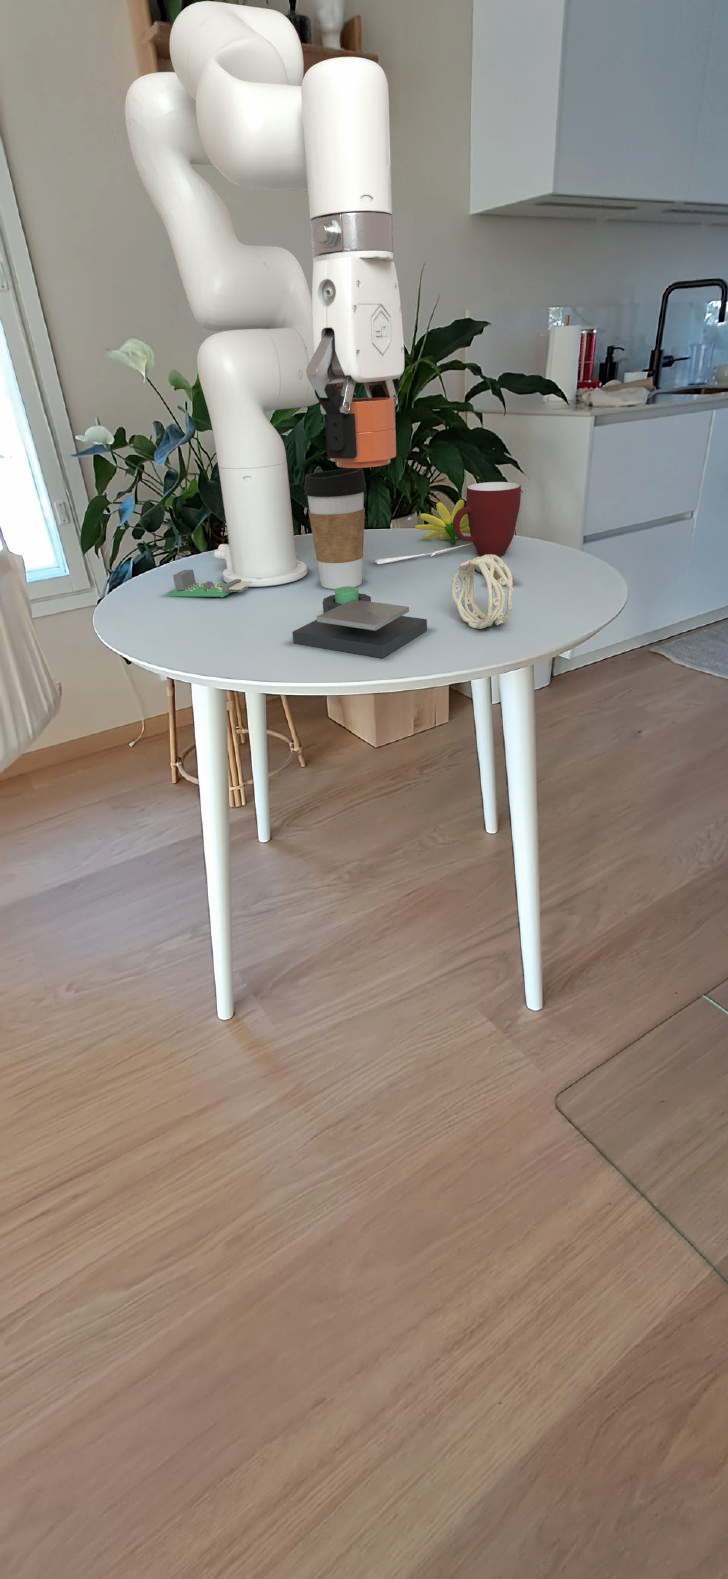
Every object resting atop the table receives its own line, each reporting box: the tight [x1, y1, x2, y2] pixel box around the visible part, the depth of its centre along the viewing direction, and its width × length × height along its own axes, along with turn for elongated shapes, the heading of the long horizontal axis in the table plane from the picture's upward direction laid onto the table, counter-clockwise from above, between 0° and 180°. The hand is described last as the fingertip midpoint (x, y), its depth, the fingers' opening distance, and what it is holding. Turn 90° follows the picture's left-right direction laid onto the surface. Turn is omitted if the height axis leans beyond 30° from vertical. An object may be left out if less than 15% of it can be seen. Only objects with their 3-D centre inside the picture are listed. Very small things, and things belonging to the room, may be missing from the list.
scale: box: [292, 592, 428, 659], centre depth 88 cm, size 13×11×3 cm
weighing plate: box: [316, 599, 410, 631], centre depth 84 cm, size 8×7×1 cm
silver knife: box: [374, 542, 474, 565], centre depth 119 cm, size 4×1×19 cm
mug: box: [453, 481, 522, 558], centre depth 116 cm, size 11×8×10 cm
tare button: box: [334, 586, 359, 604], centre depth 90 cm, size 3×3×2 cm
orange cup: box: [329, 397, 397, 469], centre depth 78 cm, size 7×7×6 cm
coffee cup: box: [303, 468, 367, 590], centre depth 104 cm, size 8×8×15 cm
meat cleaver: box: [475, 566, 515, 587], centre depth 107 cm, size 12×1×5 cm
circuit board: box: [167, 569, 253, 599], centre depth 107 cm, size 12×3×5 cm
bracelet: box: [450, 555, 515, 630], centre depth 87 cm, size 4×8×8 cm, turn 31°
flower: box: [414, 499, 470, 546], centre depth 125 cm, size 4×12×12 cm
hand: (362, 451), depth 79 cm, fingers closed on orange cup, 7 cm apart
